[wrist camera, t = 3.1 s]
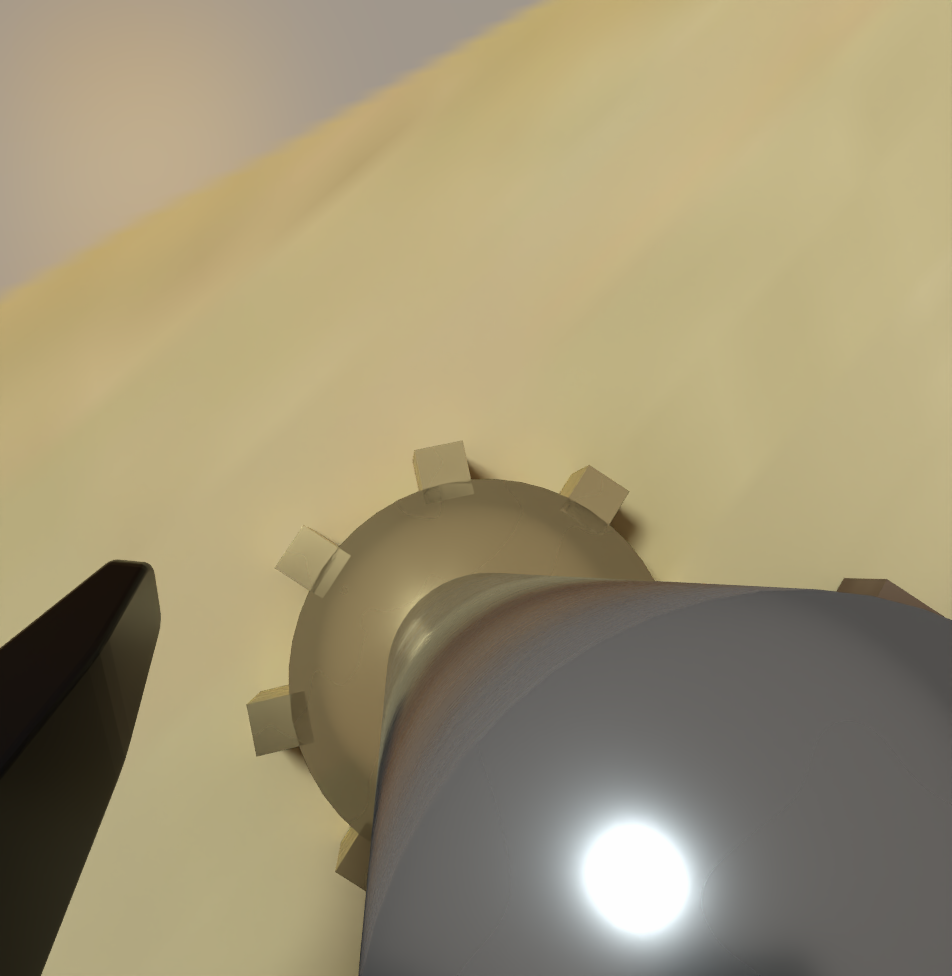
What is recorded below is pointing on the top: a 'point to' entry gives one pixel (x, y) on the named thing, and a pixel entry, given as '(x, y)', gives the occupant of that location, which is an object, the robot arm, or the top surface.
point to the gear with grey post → (612, 748)
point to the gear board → (881, 591)
